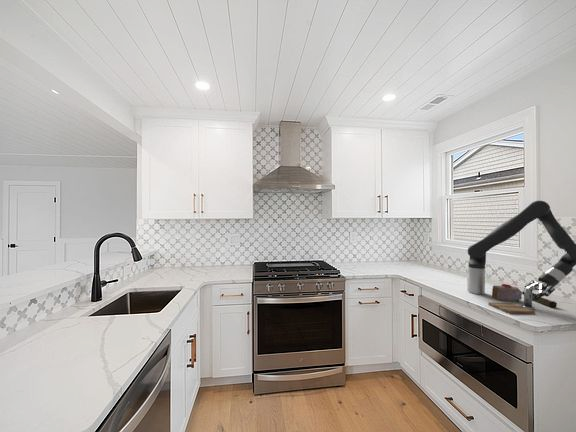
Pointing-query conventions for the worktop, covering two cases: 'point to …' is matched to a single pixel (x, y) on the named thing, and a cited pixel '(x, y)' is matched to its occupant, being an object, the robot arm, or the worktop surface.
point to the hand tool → (545, 301)
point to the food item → (506, 293)
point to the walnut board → (511, 308)
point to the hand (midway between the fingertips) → (528, 296)
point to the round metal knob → (528, 299)
